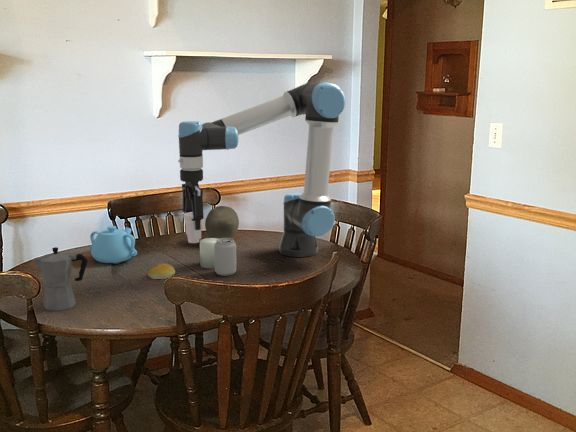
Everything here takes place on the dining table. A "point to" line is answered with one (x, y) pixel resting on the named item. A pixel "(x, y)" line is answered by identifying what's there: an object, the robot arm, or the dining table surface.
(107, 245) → the teapot
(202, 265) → the sage mug
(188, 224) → the smoothie
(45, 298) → the coffeepot
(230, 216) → the cantaloupe
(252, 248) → the dining table surface
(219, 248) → the can
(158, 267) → the bread roll
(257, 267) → the dining table surface
